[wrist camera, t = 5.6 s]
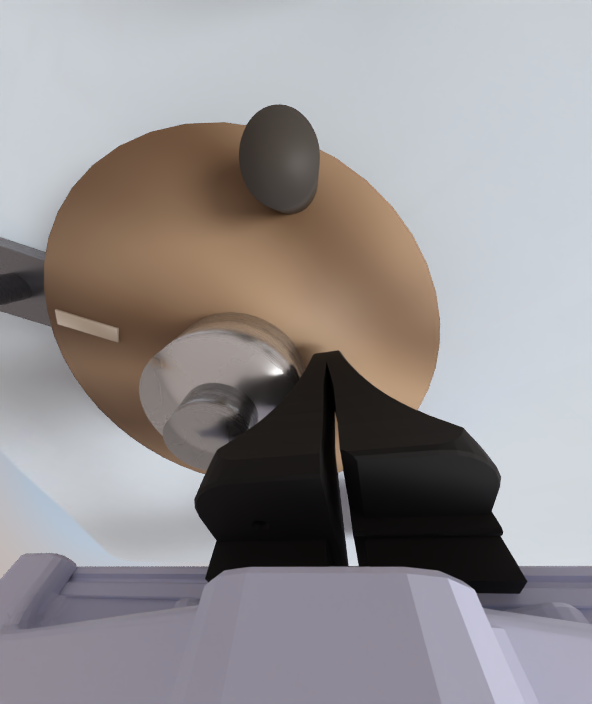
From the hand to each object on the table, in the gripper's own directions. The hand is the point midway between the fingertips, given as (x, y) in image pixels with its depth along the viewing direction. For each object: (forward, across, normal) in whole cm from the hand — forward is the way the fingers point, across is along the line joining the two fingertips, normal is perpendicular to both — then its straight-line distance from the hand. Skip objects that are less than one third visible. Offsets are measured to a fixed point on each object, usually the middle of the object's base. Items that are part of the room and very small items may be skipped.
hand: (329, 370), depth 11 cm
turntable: (+2, +5, 0) cm, 5 cm away
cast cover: (+1, +5, 0) cm, 5 cm away
